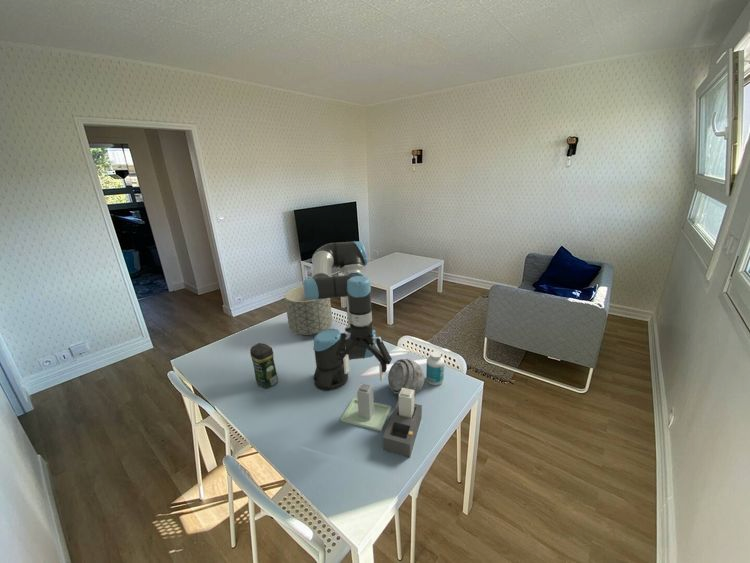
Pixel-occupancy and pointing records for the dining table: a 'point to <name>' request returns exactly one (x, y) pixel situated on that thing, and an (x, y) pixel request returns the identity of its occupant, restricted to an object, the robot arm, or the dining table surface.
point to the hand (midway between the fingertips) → (364, 375)
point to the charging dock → (403, 425)
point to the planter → (307, 313)
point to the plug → (365, 401)
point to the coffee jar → (264, 365)
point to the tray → (374, 423)
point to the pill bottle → (435, 368)
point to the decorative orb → (405, 376)
